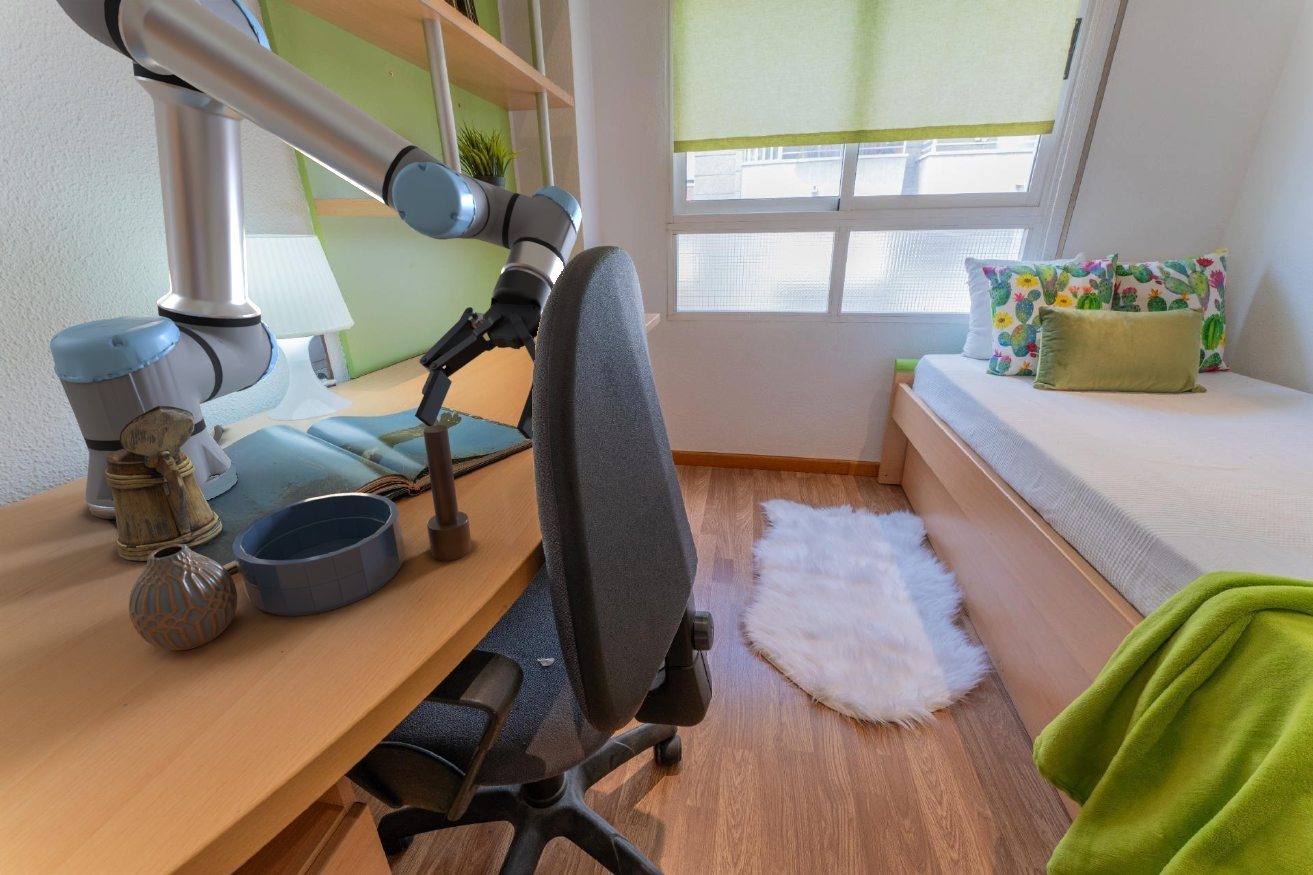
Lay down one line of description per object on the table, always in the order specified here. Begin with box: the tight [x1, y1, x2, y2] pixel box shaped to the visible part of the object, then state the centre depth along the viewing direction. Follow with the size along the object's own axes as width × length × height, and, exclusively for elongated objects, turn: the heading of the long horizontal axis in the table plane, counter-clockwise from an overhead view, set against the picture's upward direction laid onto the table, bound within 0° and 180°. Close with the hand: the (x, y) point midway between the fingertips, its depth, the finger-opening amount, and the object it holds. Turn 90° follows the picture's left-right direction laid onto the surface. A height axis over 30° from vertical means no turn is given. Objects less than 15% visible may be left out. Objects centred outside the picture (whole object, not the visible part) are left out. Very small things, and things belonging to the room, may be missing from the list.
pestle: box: [422, 424, 473, 562], centre depth 58 cm, size 4×4×15 cm
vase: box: [128, 544, 238, 651], centre depth 45 cm, size 7×7×9 cm
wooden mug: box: [105, 406, 223, 562], centre depth 57 cm, size 9×14×18 cm, turn 61°
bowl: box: [231, 492, 406, 617], centre depth 55 cm, size 14×14×6 cm
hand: (472, 427), depth 61 cm, fingers open, 13 cm apart
